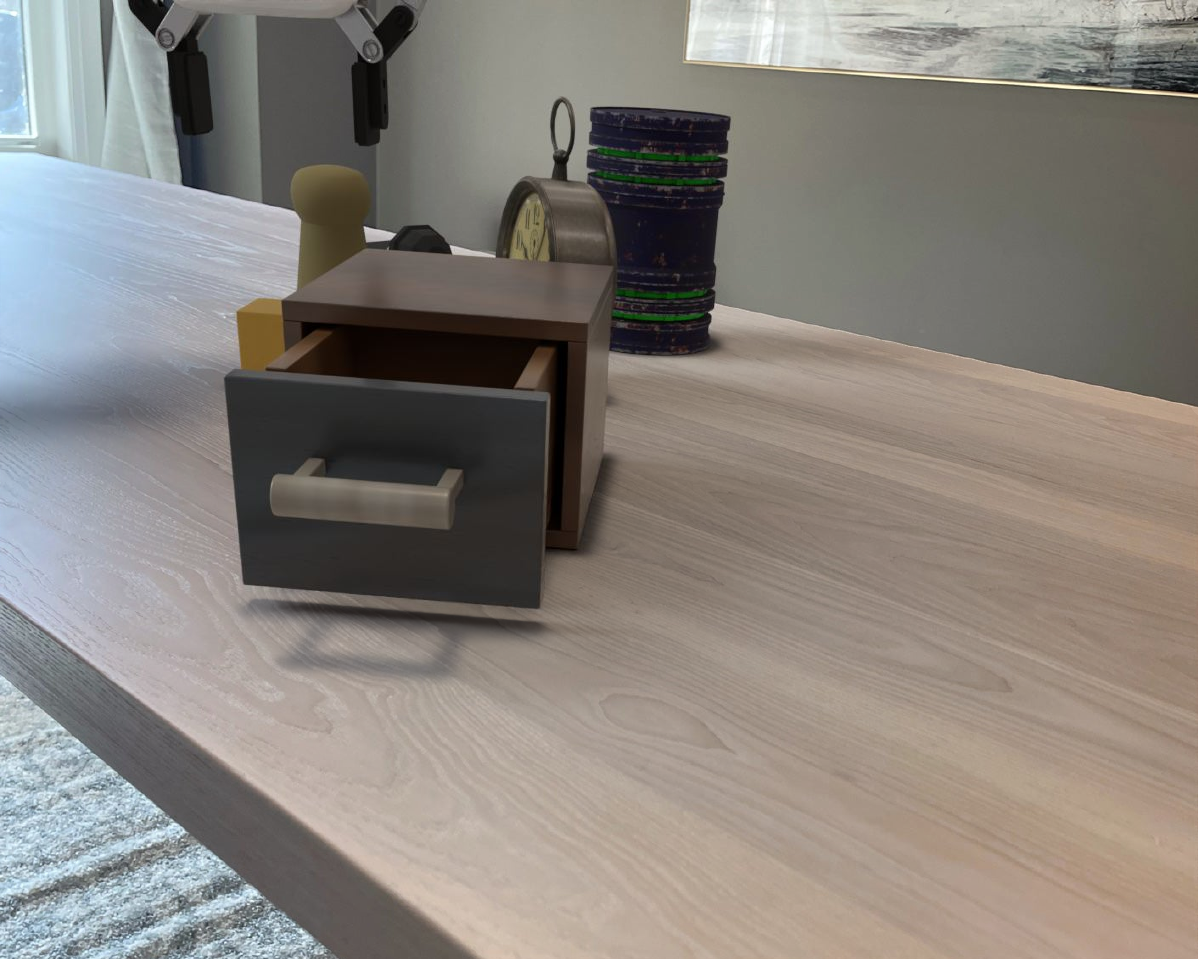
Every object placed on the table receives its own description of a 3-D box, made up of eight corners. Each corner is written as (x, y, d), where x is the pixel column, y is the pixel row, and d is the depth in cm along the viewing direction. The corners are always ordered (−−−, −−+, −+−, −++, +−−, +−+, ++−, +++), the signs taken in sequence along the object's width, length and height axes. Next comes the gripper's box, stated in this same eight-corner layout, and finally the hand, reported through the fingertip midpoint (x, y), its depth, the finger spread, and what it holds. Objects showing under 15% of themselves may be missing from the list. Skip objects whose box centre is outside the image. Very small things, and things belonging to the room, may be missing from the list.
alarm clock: (488, 367, 86) (491, 88, 77) (565, 365, 87) (576, 92, 79) (540, 409, 77) (550, 101, 69) (624, 406, 79) (644, 105, 70)
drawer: (525, 656, 45) (531, 432, 41) (204, 629, 45) (179, 405, 41) (574, 498, 60) (582, 324, 56) (333, 479, 61) (324, 305, 57)
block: (242, 387, 78) (235, 310, 75) (264, 371, 81) (258, 297, 79) (314, 393, 77) (309, 316, 75) (333, 376, 81) (329, 302, 79)
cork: (278, 345, 88) (265, 166, 82) (315, 328, 93) (306, 159, 87) (361, 354, 86) (354, 174, 81) (395, 337, 92) (390, 166, 86)
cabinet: (577, 550, 57) (588, 322, 52) (296, 527, 57) (280, 300, 52) (603, 456, 69) (614, 266, 64) (372, 438, 70) (365, 248, 65)
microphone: (304, 301, 116) (424, 313, 102) (278, 236, 112) (398, 239, 98) (353, 278, 118) (477, 286, 104) (329, 213, 115) (453, 212, 101)
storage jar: (716, 358, 91) (739, 122, 84) (578, 351, 91) (588, 112, 83) (705, 330, 100) (725, 112, 92) (578, 322, 100) (588, 104, 92)
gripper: (48, -275, 60) (104, 135, 69) (412, -259, 59) (422, 154, 68) (114, -246, 67) (157, 126, 76) (444, -231, 66) (448, 143, 75)
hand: (283, 139), depth 72 cm, fingers open, 9 cm apart
